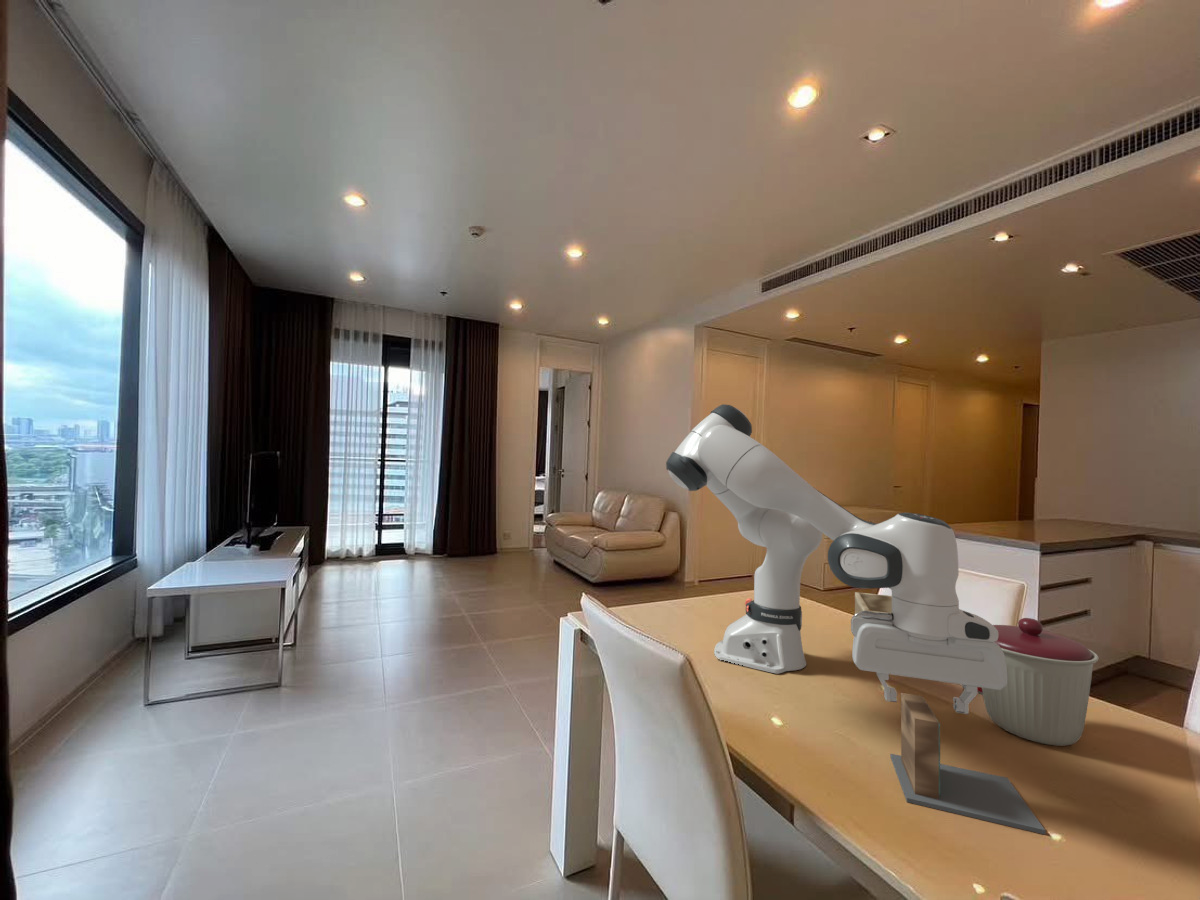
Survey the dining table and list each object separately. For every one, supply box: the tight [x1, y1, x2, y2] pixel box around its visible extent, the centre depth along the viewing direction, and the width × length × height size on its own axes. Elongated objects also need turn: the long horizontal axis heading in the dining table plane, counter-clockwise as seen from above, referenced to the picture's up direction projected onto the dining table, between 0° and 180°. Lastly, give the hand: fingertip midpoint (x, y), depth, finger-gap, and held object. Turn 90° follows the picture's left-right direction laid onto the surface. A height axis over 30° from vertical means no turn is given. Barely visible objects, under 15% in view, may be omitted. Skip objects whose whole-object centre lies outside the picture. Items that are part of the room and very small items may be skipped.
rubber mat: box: [889, 753, 1046, 835], centre depth 73 cm, size 16×12×1 cm
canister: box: [982, 617, 1099, 747], centre depth 92 cm, size 18×18×21 cm
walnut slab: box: [900, 692, 941, 799], centre depth 75 cm, size 3×9×11 cm, turn 159°
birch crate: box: [854, 591, 892, 619], centre depth 134 cm, size 12×22×12 cm, turn 159°
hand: (924, 706), depth 75 cm, fingers open, 8 cm apart
